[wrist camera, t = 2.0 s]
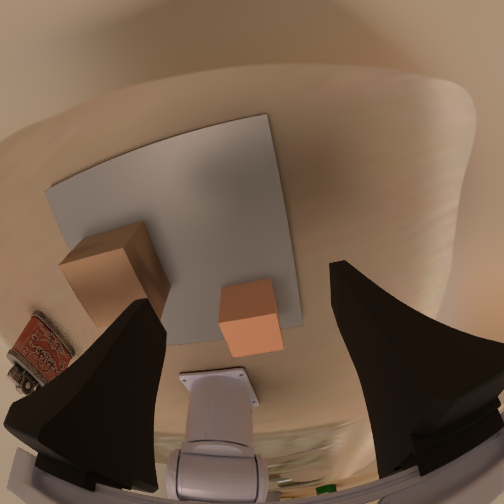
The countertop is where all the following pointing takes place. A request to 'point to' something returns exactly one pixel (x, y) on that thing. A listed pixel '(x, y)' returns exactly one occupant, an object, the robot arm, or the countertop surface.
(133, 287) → the base brick
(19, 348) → the lighter
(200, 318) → the baseplate
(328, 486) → the milk carton
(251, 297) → the top brick
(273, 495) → the coffeepot
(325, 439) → the countertop surface
